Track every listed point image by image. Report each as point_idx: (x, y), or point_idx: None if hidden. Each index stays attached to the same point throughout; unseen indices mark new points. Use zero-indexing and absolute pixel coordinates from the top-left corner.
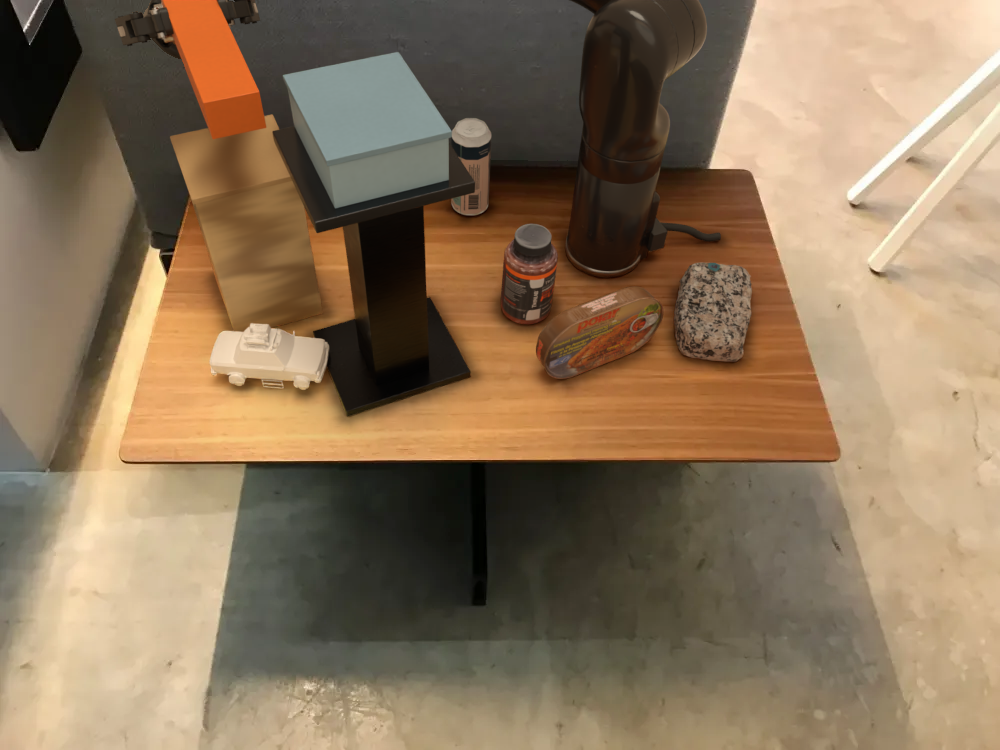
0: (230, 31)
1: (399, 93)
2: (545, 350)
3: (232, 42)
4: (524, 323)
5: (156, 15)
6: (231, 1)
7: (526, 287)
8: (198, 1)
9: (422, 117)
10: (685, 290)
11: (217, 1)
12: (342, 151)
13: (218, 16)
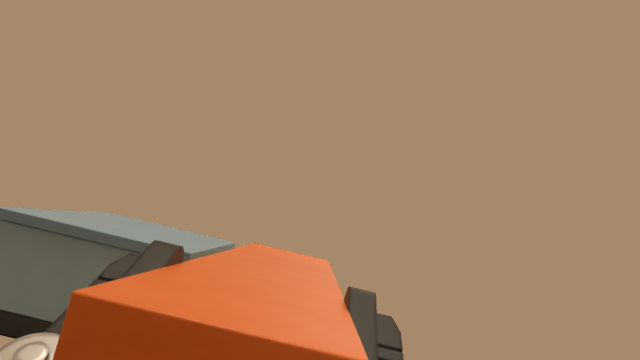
0: (220, 252)
1: (94, 217)
2: None
3: (235, 251)
4: None
5: (383, 319)
6: (125, 256)
7: None
8: (226, 283)
9: (113, 216)
10: None
11: (176, 257)
12: (215, 238)
13: (213, 261)
